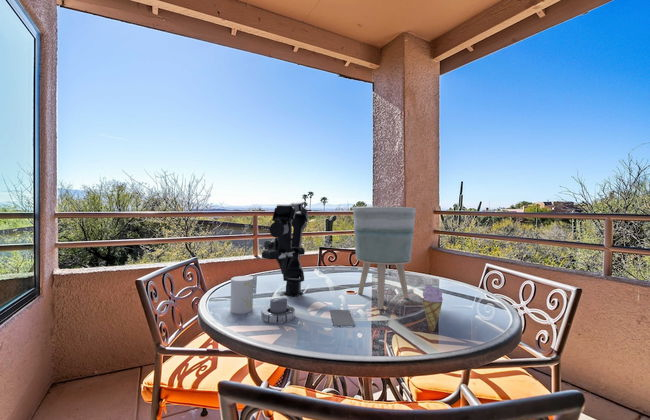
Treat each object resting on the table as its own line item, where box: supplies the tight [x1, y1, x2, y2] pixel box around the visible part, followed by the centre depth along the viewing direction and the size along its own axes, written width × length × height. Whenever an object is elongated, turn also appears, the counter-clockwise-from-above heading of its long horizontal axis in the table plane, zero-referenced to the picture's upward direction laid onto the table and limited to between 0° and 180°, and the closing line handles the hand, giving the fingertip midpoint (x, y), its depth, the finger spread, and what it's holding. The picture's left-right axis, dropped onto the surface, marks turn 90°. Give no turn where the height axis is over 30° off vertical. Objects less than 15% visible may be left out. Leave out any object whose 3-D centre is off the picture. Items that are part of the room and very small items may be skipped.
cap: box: [269, 296, 288, 314], centre depth 102 cm, size 6×6×7 cm
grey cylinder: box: [230, 275, 254, 315], centre depth 109 cm, size 8×8×12 cm
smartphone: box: [329, 309, 356, 328], centre depth 102 cm, size 8×1×15 cm
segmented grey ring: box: [260, 304, 296, 324], centre depth 102 cm, size 12×12×2 cm
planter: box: [352, 206, 416, 310], centre depth 124 cm, size 26×26×40 cm
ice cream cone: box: [421, 284, 444, 332], centre depth 93 cm, size 7×6×15 cm
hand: (283, 274), depth 115 cm, fingers closed
